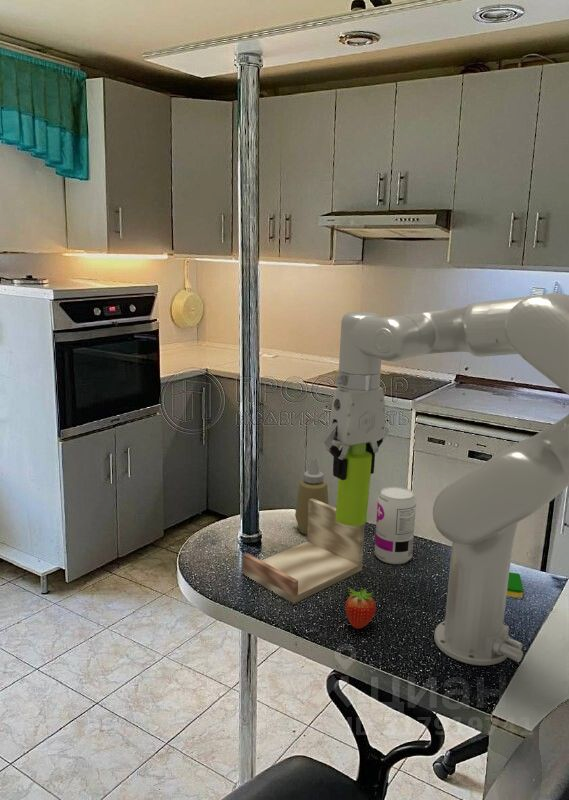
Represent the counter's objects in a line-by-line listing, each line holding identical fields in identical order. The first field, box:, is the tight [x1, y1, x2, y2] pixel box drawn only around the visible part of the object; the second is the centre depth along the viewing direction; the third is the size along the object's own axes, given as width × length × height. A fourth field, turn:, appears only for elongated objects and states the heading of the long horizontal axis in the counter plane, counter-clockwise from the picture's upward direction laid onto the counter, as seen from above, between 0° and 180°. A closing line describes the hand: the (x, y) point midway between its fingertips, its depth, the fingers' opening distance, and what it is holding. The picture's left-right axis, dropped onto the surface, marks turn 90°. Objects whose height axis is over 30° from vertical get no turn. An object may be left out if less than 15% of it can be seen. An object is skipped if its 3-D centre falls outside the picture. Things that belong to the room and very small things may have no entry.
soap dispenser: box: [335, 443, 372, 526], centre depth 124 cm, size 6×7×20 cm
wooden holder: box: [242, 498, 366, 605], centre depth 136 cm, size 15×20×12 cm
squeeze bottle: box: [294, 457, 329, 536], centre depth 155 cm, size 8×8×18 cm
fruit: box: [345, 587, 377, 630], centre depth 117 cm, size 5×5×8 cm
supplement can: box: [374, 486, 417, 565], centre depth 143 cm, size 8×8×15 cm
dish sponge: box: [507, 571, 524, 598], centre depth 133 cm, size 7×14×2 cm, turn 76°
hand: (353, 473), depth 124 cm, fingers closed on soap dispenser, 6 cm apart
